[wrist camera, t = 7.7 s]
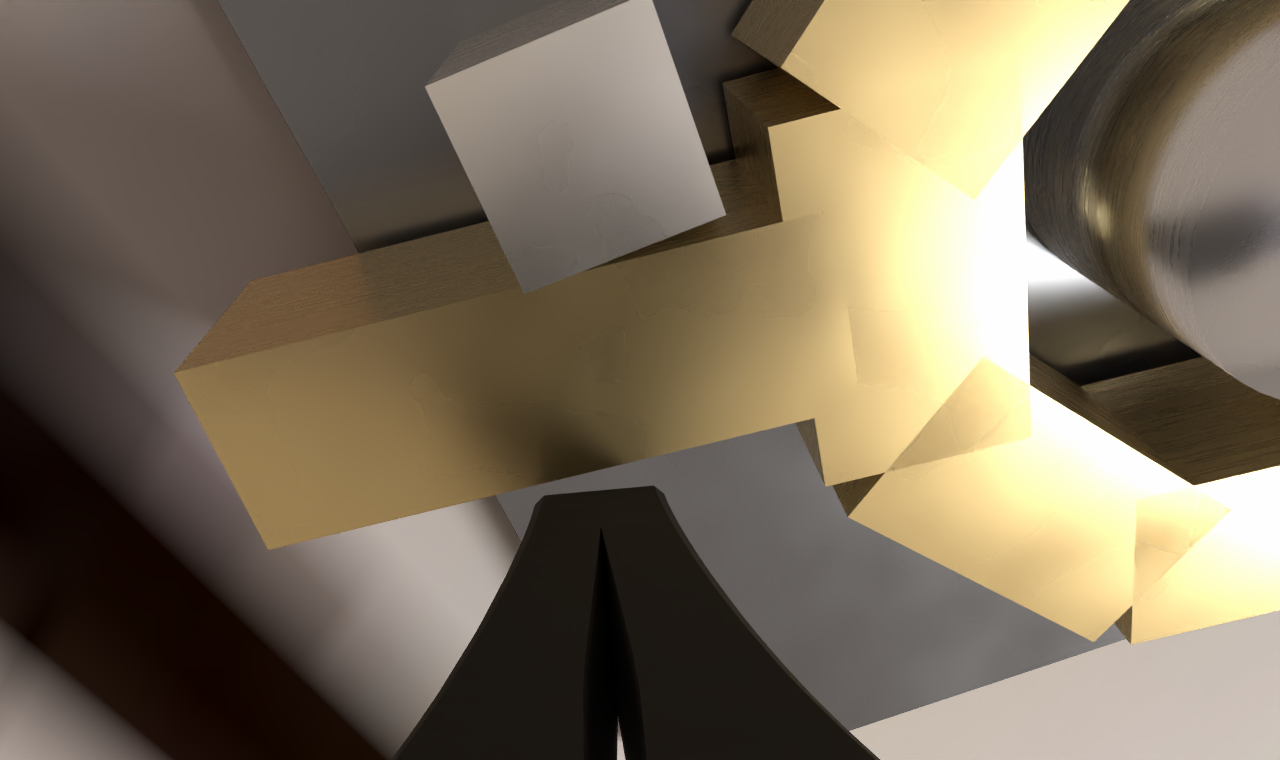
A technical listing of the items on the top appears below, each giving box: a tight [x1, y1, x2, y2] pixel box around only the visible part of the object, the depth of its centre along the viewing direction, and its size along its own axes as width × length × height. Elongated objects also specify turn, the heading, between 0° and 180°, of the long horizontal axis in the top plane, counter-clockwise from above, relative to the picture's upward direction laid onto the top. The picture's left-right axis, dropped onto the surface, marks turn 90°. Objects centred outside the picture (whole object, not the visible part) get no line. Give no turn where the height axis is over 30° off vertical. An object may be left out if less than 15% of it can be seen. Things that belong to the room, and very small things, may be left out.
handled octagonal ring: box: [174, 0, 1280, 644], centre depth 10 cm, size 17×11×2 cm, turn 103°
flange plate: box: [218, 0, 1280, 731], centre depth 10 cm, size 18×17×4 cm
